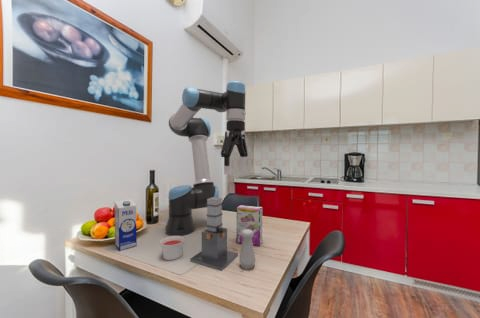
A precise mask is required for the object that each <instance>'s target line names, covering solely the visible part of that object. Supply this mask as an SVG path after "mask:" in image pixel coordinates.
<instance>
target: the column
mask: <svg viewBox="0 0 480 318" xmlns="http://www.w3.org/2000/svg"><path fill="white" fill-rule="evenodd" d="M222 200H223V198H222V197H219V198H217V197H212V198H209V199H207V204H206V206H207V207H206V210H207V211H206V217H207V218H206V221H207V222H206V229H207V232H211V233H216V234H217V233H218V232H219V229H220V228H221V227H222V228H223V222H222V221H223V220H222V219H223V210H222V209H223V207H222V206H223V203H222V202H223V201H222Z"/></svg>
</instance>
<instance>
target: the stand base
mask: <svg viewBox="0 0 480 318" xmlns="http://www.w3.org/2000/svg"><path fill="white" fill-rule="evenodd" d="M238 256H239V253H238V252H234V251H230V250H228V228H226V227H223V226H222V227H221V228H220V229H219V232H218V233H217V234H216V233H211V232H207V228H206V229H204V230H202V231H201V250H200V251H199V252H198V253H197V254H194V256H192V257H190V258H189V259H190V260H189V261H190V262H192V263H195V264H198V265H200V266H204V267H207V268H211V269H214V270H217V271H220V272H223V271H224V270H225V268H227V267H228V266H229V265H230V264H231V263H232V262H233V261H234V260H235V259H236V258H237V257H238Z"/></svg>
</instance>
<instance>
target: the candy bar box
mask: <svg viewBox="0 0 480 318" xmlns="http://www.w3.org/2000/svg"><path fill="white" fill-rule="evenodd" d="M245 229H250V230H252V231H253V237H252V243H253V246H256V247H260V246H261V245H262V243H263V207H262V206H252V205H251V206H250V205H244V204H243V205H242V204H240V205H239V206H237V207H236V244H242V241H243V237H242V235H241V233H242V231H243V230H245Z"/></svg>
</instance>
